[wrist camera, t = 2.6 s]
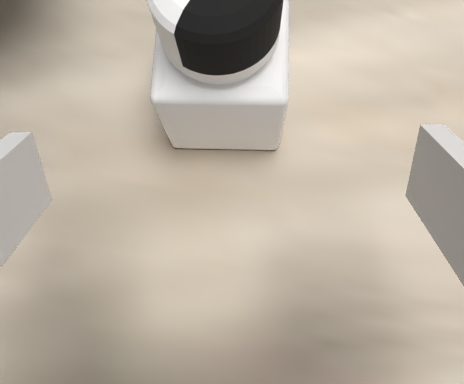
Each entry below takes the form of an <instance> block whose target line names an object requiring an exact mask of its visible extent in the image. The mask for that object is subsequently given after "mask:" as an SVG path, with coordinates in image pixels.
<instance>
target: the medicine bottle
mask: <svg viewBox="0 0 464 384" xmlns="http://www.w3.org/2000/svg"><path fill="white" fill-rule="evenodd" d="M147 2H148V5H149V8H150V11H151V14H152V17H153V20H154V23H155V26H156V36H155V47H154V59H153V70H152V81H151V92H150V100H151V103H152V105H153V107H154V109H155V111H156V113H157V115H158V117H159V119H160V121H161V123H162V125H163V127H164V129H165V131H166V133H167V136H168V138H169V140H170V142H171V144H172V145H173V146H174V147H175V148H197V149H248V150H276V149H277V148H278V147H279V144H280V139H281V134H282V130H283V125H284V120H285V115H286V110H287V105H288V100H289V0H147Z"/></svg>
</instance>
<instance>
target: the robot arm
mask: <svg viewBox="0 0 464 384" xmlns="http://www.w3.org/2000/svg"><path fill="white" fill-rule="evenodd" d="M406 197H407V199H408V200H409V202H410V203H411V205H412V207H413V208H414V210H415V211H416V213H417V214H418V216H419V217H420V219H421V221H422V222H423V224H424V225H425V227H426V228H427V230H428V231H429V233H430V234H431V236H432V238H433V239H434V241H435V242H436V244H437V245H438V247H439V248H440V250H441V252H442V253H443V255H444V256H445V258H446V259H447V261H448V262H449V264H450V266H451V267H452V269H453V270H454V272H455V273H456V275H457V276H458V278H459V280H460V281H461V283H462V284H463V286H464V142H463V141H462V140H461V139H460V138H459V137H458V136H457V135H455V134H454V133H453V132H452V131H451V130H450V129H449V128H448V127H447V126H445V125H444V124H420V128H419V133H418V138H417V143H416V148H415V152H414V157H413V162H412V167H411V172H410V176H409V181H408V186H407V191H406ZM51 201H52V199H51V195H50V192H49V188H48V185H47V181H46V178H45V175H44V171H43V168H42V164H41V161H40V157H39V154H38V150H37V147H36V143H35V140H34V136H33V133H32V132H10V133H9V134H7V135H6V136H5V137H4V138H2V139H1V140H0V269H1V268H2V266H3V265H4V264H5V262H6V261H7V260H8V258H9V257H10V256H11V254H12V253H13V252H14V250H15V249H16V248H17V246H18V245H19V243H20V242H21V241H22V239H23V238H24V237H25V235H26V234H27V233H28V231H29V230H30V229H31V227H32V226H33V225H34V223H35V222H36V221H37V219H38V218H39V217H40V215H41V214H42V213H43V211H44V210H45V209H46V207H47V206H48V205H49V203H50V202H51Z"/></svg>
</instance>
